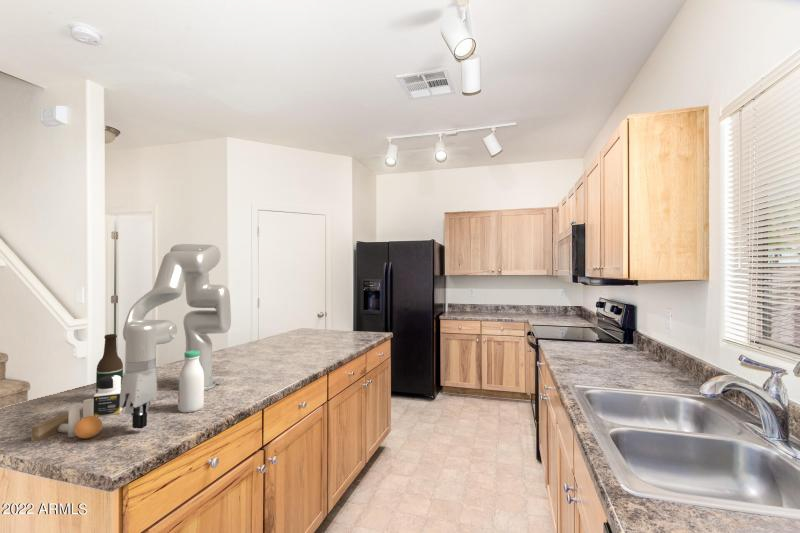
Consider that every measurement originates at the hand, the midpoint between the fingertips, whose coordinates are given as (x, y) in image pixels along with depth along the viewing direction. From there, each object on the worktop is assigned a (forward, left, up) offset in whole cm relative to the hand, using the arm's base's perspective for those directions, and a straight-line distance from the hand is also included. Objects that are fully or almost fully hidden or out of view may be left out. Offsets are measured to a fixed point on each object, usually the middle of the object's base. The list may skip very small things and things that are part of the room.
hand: (139, 427), depth 110 cm
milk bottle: (-14, -14, -2) cm, 19 cm away
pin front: (+12, -7, 0) cm, 15 cm away
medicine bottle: (+10, -24, -2) cm, 26 cm away
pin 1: (+16, -6, -2) cm, 18 cm away
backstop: (+22, -12, -2) cm, 25 cm away
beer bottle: (+12, -38, -2) cm, 40 cm away
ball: (+12, -3, +2) cm, 13 cm away
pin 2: (+14, -11, -2) cm, 18 cm away
